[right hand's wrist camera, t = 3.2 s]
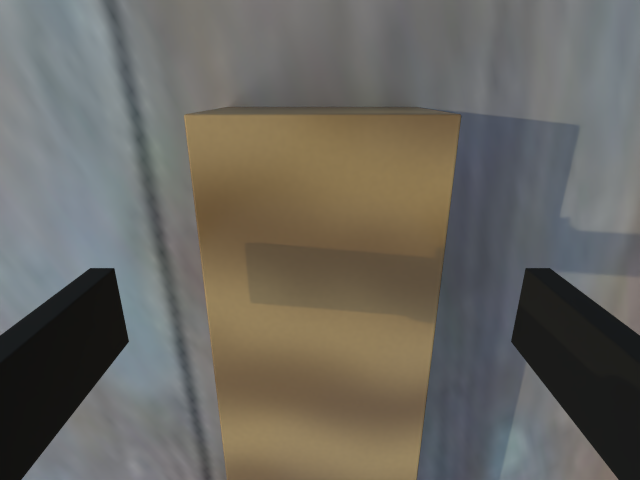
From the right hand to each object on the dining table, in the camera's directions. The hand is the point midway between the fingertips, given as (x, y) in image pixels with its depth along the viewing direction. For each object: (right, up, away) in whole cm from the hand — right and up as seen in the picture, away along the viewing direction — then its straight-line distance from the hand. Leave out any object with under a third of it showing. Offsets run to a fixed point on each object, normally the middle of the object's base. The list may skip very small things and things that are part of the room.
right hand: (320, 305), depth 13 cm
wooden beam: (0, -28, +21) cm, 35 cm away
